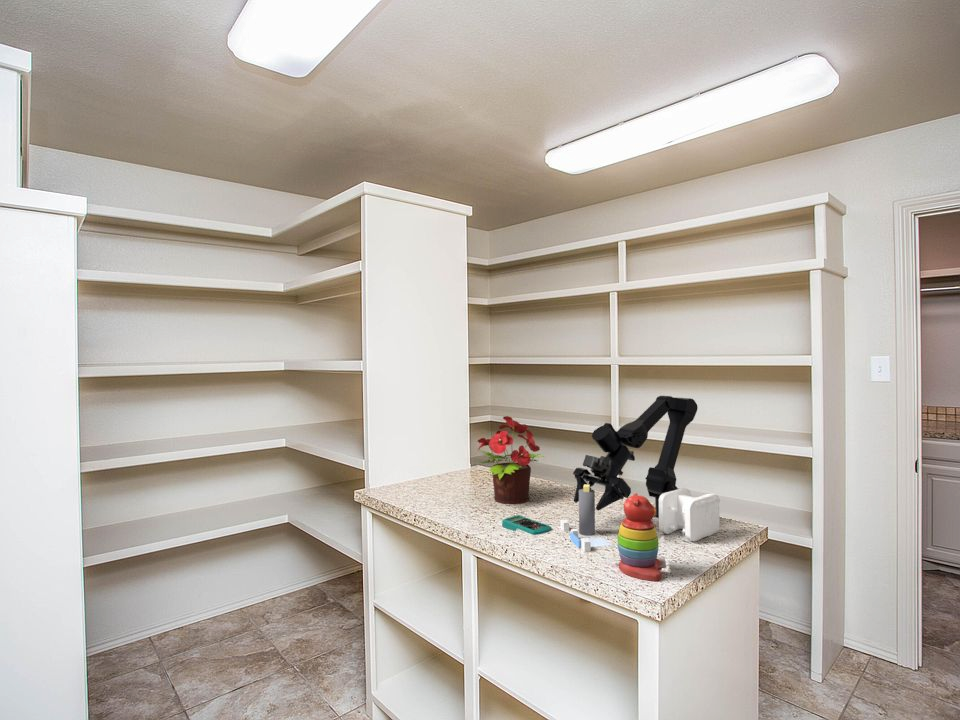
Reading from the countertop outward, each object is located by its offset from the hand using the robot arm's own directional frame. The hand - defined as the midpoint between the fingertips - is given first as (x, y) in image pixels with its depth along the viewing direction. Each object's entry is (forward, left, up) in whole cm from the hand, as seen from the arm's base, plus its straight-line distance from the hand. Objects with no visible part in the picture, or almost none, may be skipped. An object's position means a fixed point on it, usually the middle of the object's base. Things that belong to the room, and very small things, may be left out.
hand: (585, 505), depth 147 cm
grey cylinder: (0, 0, -8) cm, 8 cm away
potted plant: (-35, -32, -9) cm, 48 cm away
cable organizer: (-10, +28, -9) cm, 31 cm away
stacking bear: (+20, +14, -9) cm, 26 cm away
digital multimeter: (-2, -18, -10) cm, 20 cm away
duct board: (+3, +2, -9) cm, 10 cm away
